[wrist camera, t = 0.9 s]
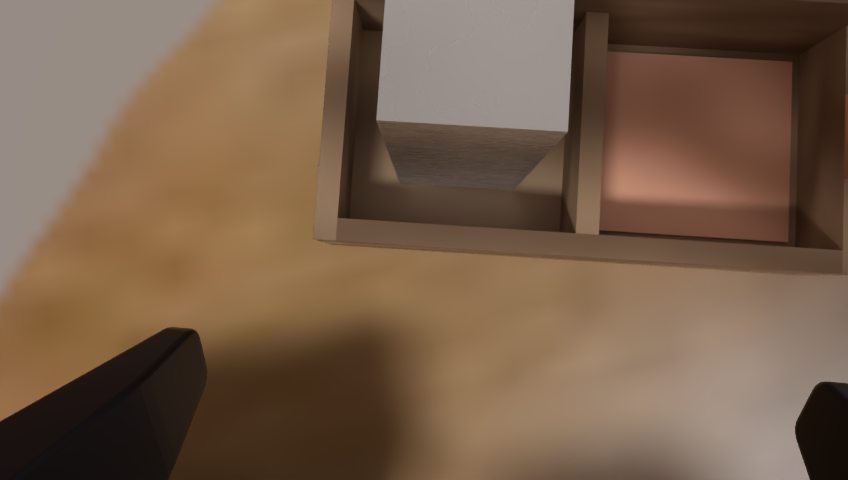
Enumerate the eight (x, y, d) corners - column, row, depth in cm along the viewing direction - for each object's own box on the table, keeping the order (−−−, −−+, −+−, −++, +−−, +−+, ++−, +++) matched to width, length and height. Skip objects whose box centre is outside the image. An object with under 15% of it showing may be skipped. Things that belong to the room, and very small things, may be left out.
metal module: (512, 191, 22) (567, 131, 13) (400, 184, 22) (376, 119, 13) (518, 81, 22) (577, -54, 13) (407, 74, 22) (389, -63, 13)
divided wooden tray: (801, 275, 22) (917, 275, 17) (330, 244, 23) (299, 234, 17) (806, 44, 23) (919, -26, 17) (348, 19, 23) (322, -57, 18)
